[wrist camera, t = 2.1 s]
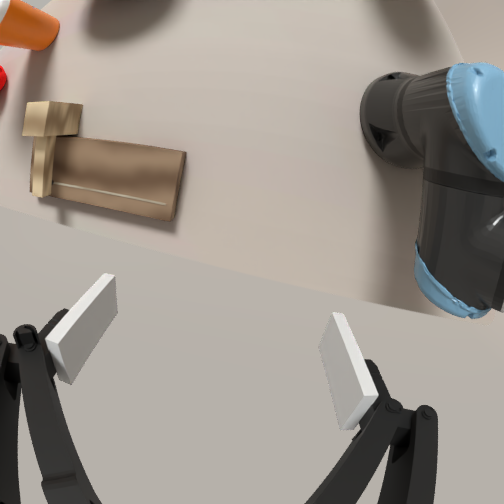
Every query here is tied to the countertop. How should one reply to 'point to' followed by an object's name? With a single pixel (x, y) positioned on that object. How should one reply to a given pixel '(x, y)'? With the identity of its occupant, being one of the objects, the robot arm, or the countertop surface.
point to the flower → (2, 77)
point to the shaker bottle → (26, 26)
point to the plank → (116, 175)
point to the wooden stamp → (48, 137)
